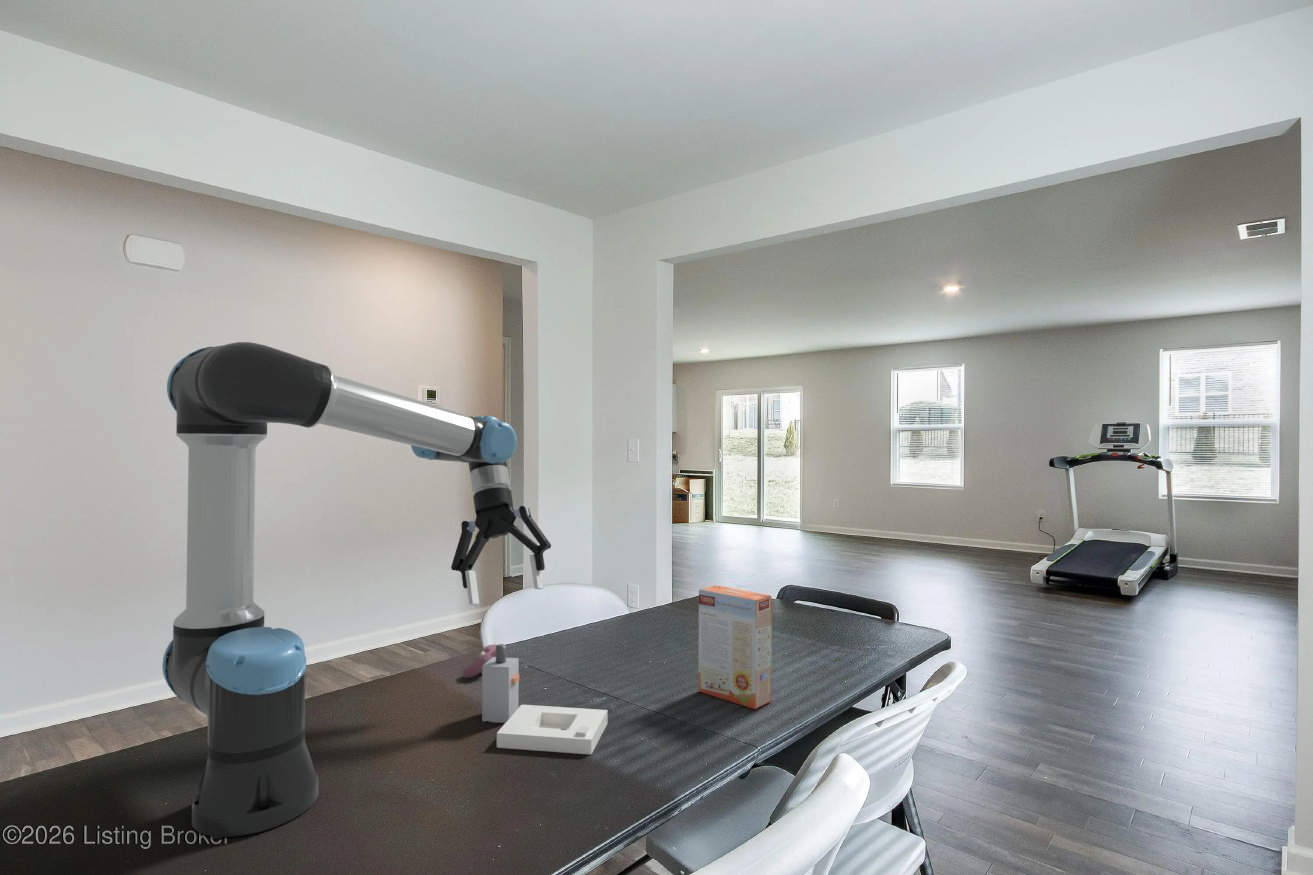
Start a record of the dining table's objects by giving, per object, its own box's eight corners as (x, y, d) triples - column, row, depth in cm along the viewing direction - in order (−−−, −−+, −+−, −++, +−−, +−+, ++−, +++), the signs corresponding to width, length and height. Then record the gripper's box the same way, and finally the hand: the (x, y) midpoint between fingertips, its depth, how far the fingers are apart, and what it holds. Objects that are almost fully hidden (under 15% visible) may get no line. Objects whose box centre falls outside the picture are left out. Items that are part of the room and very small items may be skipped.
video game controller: (477, 687, 144) (491, 658, 143) (459, 676, 144) (473, 647, 144) (497, 671, 153) (510, 644, 153) (480, 660, 154) (493, 634, 153)
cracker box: (772, 702, 132) (773, 594, 132) (754, 711, 128) (755, 599, 128) (715, 683, 142) (716, 583, 142) (697, 691, 137) (697, 587, 137)
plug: (482, 721, 123) (482, 649, 123) (492, 710, 128) (493, 640, 128) (512, 723, 122) (512, 650, 122) (521, 711, 127) (521, 642, 127)
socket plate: (496, 747, 113) (496, 729, 113) (521, 717, 125) (521, 701, 124) (591, 754, 110) (591, 735, 110) (607, 723, 122) (607, 706, 122)
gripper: (556, 479, 140) (573, 582, 133) (445, 508, 144) (457, 610, 137) (542, 472, 133) (559, 581, 126) (426, 503, 136) (437, 610, 130)
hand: (506, 596), depth 132 cm, fingers open, 13 cm apart
